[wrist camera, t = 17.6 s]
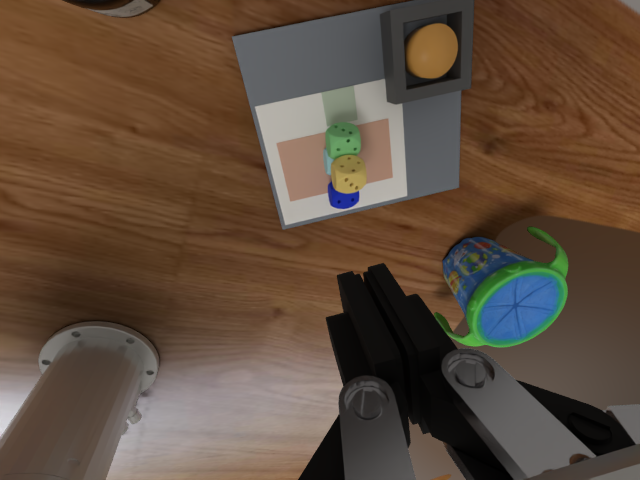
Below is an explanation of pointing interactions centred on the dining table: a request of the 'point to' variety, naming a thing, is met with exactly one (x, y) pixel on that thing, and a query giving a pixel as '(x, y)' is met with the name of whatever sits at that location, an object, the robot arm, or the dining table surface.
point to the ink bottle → (116, 6)
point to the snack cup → (504, 291)
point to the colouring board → (356, 105)
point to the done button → (430, 51)
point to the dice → (344, 165)
